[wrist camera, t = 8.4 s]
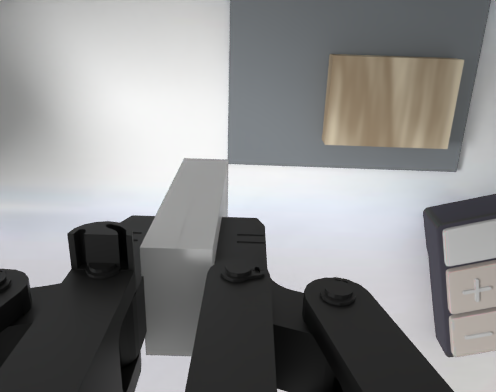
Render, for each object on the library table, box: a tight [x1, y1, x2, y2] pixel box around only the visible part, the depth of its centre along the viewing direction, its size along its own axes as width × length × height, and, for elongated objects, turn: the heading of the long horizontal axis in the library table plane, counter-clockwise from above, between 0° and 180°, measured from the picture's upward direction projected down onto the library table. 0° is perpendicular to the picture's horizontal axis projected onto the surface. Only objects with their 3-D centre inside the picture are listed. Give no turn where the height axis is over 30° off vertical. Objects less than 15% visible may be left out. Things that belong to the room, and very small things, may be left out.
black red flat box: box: [423, 194, 496, 357], centre depth 43 cm, size 11×4×15 cm
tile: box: [322, 54, 464, 149], centre depth 37 cm, size 2×7×10 cm
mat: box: [228, 0, 491, 172], centre depth 37 cm, size 20×22×1 cm
